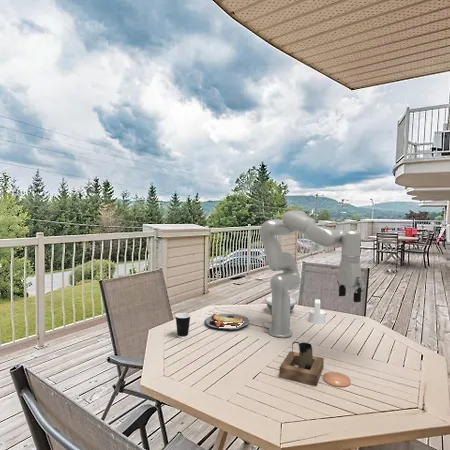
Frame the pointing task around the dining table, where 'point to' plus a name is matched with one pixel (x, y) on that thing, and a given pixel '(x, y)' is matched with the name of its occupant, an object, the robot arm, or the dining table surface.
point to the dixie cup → (182, 324)
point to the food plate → (226, 320)
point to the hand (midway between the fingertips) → (349, 298)
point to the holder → (301, 369)
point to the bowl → (269, 303)
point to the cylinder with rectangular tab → (317, 314)
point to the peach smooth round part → (336, 379)
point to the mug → (305, 355)
